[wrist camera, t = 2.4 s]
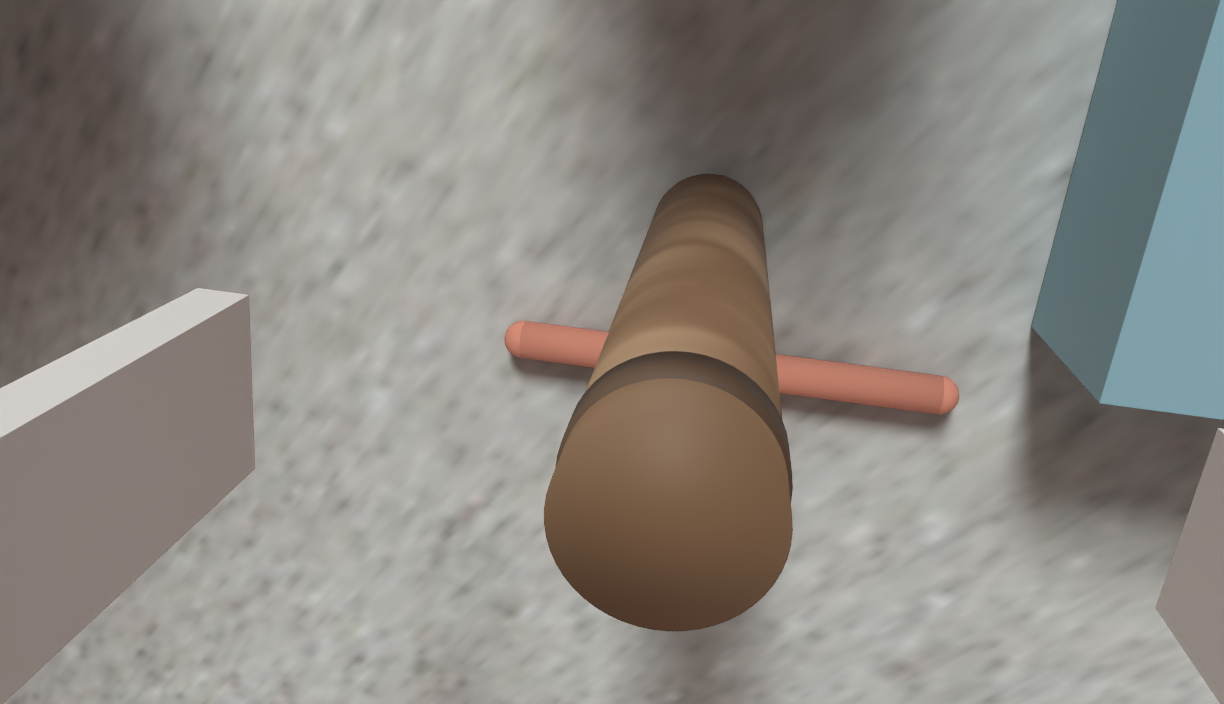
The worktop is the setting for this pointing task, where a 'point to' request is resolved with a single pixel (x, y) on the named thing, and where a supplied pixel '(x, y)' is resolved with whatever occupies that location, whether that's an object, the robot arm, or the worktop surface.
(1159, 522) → the worktop surface
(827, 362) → the salmon red rod
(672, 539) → the round wooden peg
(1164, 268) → the blue square hole block
